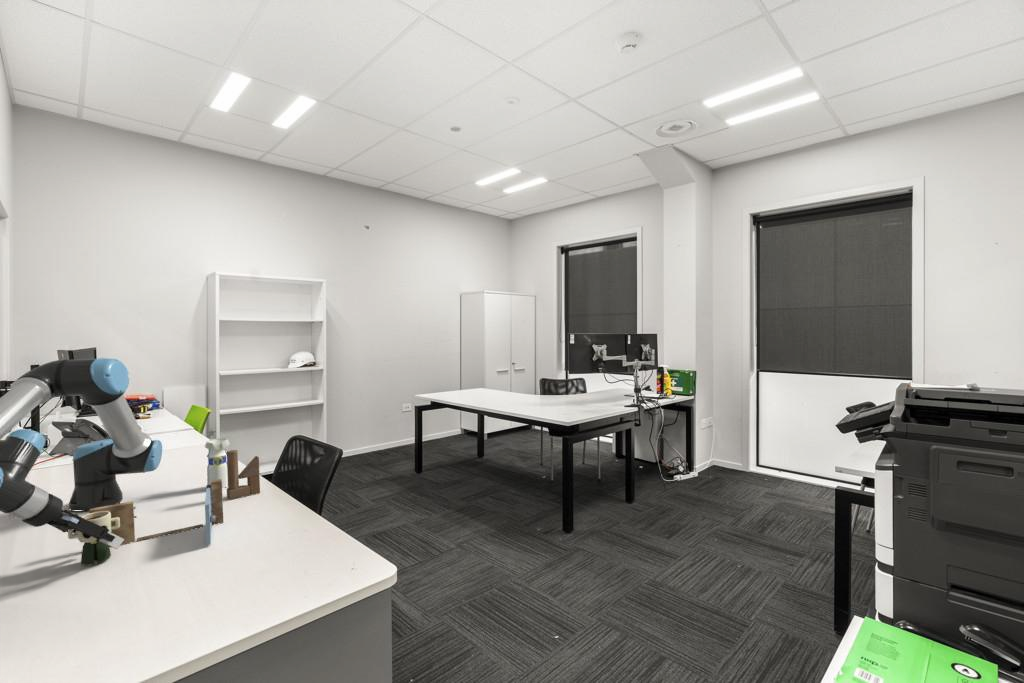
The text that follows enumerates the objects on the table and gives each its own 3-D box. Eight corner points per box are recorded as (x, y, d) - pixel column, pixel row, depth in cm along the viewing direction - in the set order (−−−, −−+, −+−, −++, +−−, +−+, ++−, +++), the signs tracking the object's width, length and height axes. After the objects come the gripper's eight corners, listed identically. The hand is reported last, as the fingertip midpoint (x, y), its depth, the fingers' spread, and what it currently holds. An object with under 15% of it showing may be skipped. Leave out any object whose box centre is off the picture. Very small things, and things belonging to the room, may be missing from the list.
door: (208, 524, 157) (206, 488, 157) (216, 523, 158) (215, 487, 158) (206, 545, 142) (204, 505, 142) (216, 543, 143) (214, 503, 143)
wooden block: (260, 493, 188) (258, 447, 188) (229, 500, 181) (227, 452, 180) (257, 490, 191) (255, 445, 190) (226, 497, 184) (224, 451, 183)
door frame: (91, 551, 140) (88, 504, 140) (92, 548, 142) (89, 501, 142) (223, 522, 160) (221, 480, 159) (222, 520, 162) (221, 479, 161)
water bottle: (232, 488, 195) (229, 426, 194) (207, 492, 190) (204, 429, 189) (230, 482, 202) (228, 423, 201) (206, 486, 197) (203, 426, 196)
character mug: (69, 573, 128) (66, 525, 127) (70, 563, 133) (68, 517, 133) (121, 560, 135) (119, 514, 134) (121, 551, 140) (119, 507, 140)
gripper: (-5, 516, 123) (73, 549, 138) (50, 526, 115) (124, 560, 131) (21, 488, 127) (93, 524, 143) (75, 496, 120) (144, 533, 136)
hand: (108, 541), depth 137 cm, fingers open, 9 cm apart
